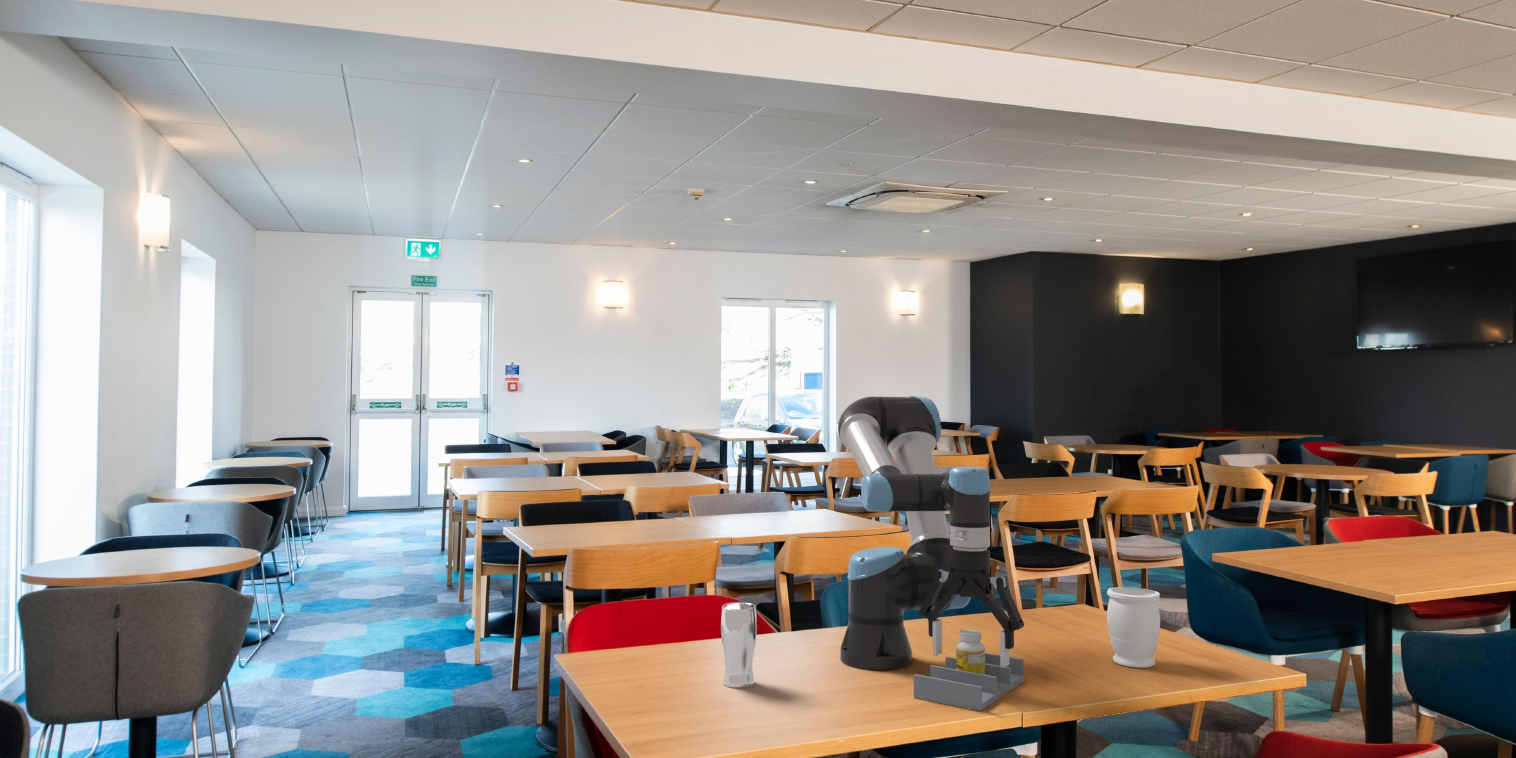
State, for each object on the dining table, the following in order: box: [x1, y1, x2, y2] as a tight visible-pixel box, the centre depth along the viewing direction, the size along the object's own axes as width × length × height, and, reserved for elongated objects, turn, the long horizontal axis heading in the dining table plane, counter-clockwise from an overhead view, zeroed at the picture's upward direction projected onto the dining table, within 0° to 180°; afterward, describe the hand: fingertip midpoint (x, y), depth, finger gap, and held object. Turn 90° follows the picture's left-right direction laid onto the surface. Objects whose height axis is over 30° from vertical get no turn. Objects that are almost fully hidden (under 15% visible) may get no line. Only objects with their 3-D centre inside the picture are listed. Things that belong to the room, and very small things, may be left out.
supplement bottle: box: [955, 629, 986, 675], centre depth 174 cm, size 5×5×10 cm
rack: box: [913, 652, 1025, 712], centre depth 174 cm, size 13×22×4 cm, turn 145°
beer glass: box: [720, 601, 758, 689], centre depth 178 cm, size 7×7×15 cm
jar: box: [1106, 586, 1161, 669], centre depth 192 cm, size 11×10×15 cm
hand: (970, 659), depth 174 cm, fingers open, 13 cm apart
